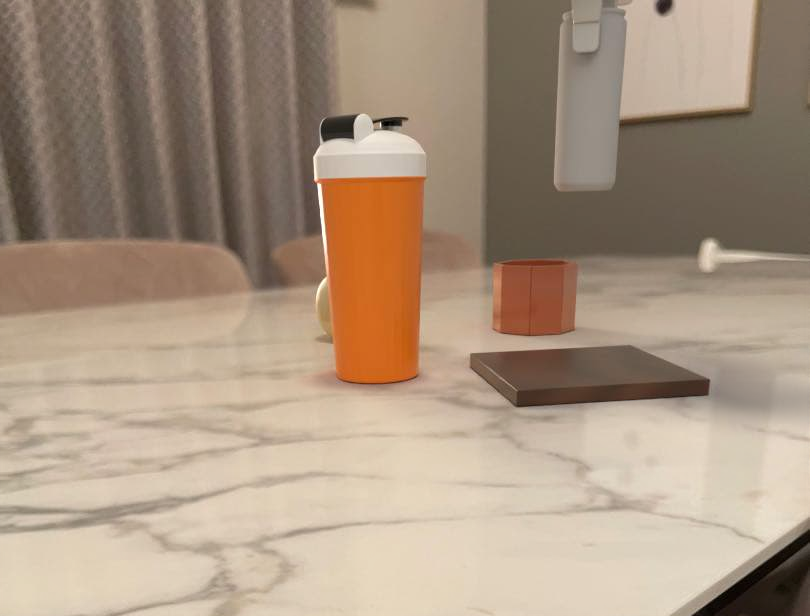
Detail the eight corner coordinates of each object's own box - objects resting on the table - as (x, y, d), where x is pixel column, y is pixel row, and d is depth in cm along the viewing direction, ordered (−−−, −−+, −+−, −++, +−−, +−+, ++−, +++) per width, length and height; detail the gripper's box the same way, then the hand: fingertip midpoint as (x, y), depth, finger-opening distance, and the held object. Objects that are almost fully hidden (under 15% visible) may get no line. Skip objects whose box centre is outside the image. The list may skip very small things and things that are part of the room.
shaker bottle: (448, 370, 74) (448, 115, 66) (390, 391, 67) (381, 109, 59) (366, 361, 79) (357, 122, 71) (304, 379, 72) (286, 117, 64)
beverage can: (540, 191, 67) (547, 14, 62) (578, 189, 70) (587, 20, 65) (590, 191, 63) (601, 4, 59) (628, 189, 66) (641, 11, 62)
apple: (406, 328, 93) (403, 269, 87) (359, 369, 90) (353, 311, 83) (352, 301, 96) (345, 243, 90) (304, 340, 93) (295, 281, 86)
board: (629, 358, 77) (630, 344, 77) (708, 394, 64) (710, 379, 63) (469, 366, 75) (470, 353, 75) (516, 406, 62) (517, 390, 61)
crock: (557, 321, 98) (560, 258, 95) (582, 332, 91) (586, 264, 88) (487, 324, 97) (488, 260, 94) (506, 336, 89) (508, 267, 87)
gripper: (639, -249, 47) (620, 35, 53) (662, -134, 65) (646, 69, 71) (528, -229, 49) (521, 42, 55) (579, -123, 67) (570, 74, 73)
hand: (592, 58), depth 63 cm, fingers closed on beverage can, 5 cm apart
